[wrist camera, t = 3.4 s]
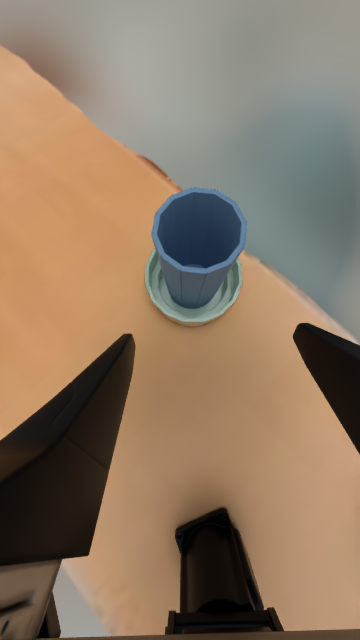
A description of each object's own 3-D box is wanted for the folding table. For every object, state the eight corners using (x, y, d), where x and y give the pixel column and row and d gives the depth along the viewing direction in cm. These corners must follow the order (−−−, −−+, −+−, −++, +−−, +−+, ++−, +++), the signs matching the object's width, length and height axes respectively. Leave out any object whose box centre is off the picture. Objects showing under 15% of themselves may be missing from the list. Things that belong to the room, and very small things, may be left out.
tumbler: (178, 316, 22) (173, 287, 11) (161, 273, 23) (139, 207, 12) (223, 298, 23) (262, 251, 11) (204, 256, 24) (222, 175, 12)
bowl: (169, 338, 23) (166, 337, 18) (141, 267, 24) (131, 250, 20) (244, 308, 23) (258, 299, 19) (211, 240, 25) (217, 217, 20)
